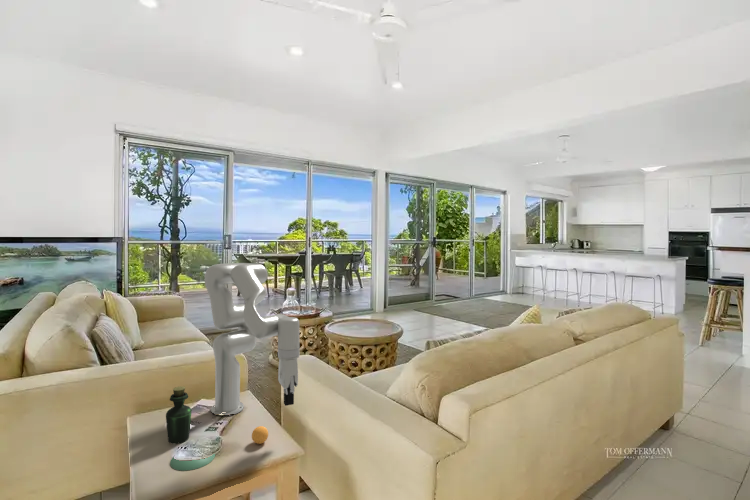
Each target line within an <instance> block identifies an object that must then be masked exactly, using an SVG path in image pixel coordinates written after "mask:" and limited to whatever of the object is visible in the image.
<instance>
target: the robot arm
mask: <svg viewBox="0 0 750 500" xmlns="http://www.w3.org/2000/svg"><path fill="white" fill-rule="evenodd" d="M267 279H268V271H267V268H266V267H265V266H264V265H263V264H262V263H253V262H252V263H251V262H233V263H232V262H231V263H227V262H226V263H225V262H224V263H218V264H217V263H216V264H213V265H211V266H209V267H208V268H207V269H206V270H205V273H204V285H205V288H206V291H207V294H208V295H209V300H210V307H211V308H210V309H211V315H212V321H213V326H214V327H215V329H216V330H218V331H225V330H231V329H235V328H236V329H237V330H235V331H234V330H233V331H229V332H225V333H221V334H219V335H217V336H216V337H215V338H214V339H213V342H212V350H213V355H214V364H215V365H214V370H215V371H214V374H215V376H214V377H215V381H214V382H215V383H214V387H215V388H214V389H215V390H214V391H215V392H214V396H215V398H214V405H213V406H211V407H210V413H211V412H212V413H214V414H221V413H222V412H226V413H222V414H225V415H228V414H234V415H236V414H239V413H240V412H242V411H243V410H244V407H245V405H244V403H243V402H241V399H240V398H241V364H240V362H239V361H238V360H237V357H236V356H237V355H241V354H244V353H248V352H251V351H252V350H254V349H255V347H256V344H257V339H260V340H263V339H268V338H271V337H277V358H278V371H277V372H278V375H277V377H278V378H277V381H278V382H279V384H280V385H281V387H282V388H283V404H284V406H292V405H294V403H295V400H294V399H295V388H296V387H297V386H298V385H299V366H298V358H300V320H299V319H298V317H293V316H288V315H286V314H283V313H282V314H281V313H278V314H274V315H266V316H261V315H260V314H259V312H258V311H257V308H256V306H257V305H258V304H260V303H261V302H263V300H264V299H265V298H266V296H267V290H266V288H265V286H263V283H265V282H266V281H267ZM229 284H234V285H235V287H236V289H237V290H238V292H239V294H240V295H241V297H242V298H243V300H244V302H245V304H244V303H243V304H242V303H240V304H234V300H233V295H232V292H231V291H230V289H229V288H228V287H227V286H225V285H229ZM214 406H215V407H214ZM212 413H211V414H212Z"/></svg>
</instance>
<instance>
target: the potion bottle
mask: <svg viewBox="0 0 750 500" xmlns="http://www.w3.org/2000/svg"><path fill="white" fill-rule="evenodd" d="M172 390H173V394H171V395H170V397H169V401H170V402H173V407H170V408H169V409H168V410H167V412H165V413H166V414H165V420H166V422H165V423H166V433H167V441H168V442H169V444H172V445H179V444H182V443H185V442H186V441H188V440H189V438H190V431H191V430H190V422H191V423H192V411H193V410H192V408H191V407H190V406H188V405H185V402H186V401H185V400H187V399H189V393H187V392H185V390H186V387H185V386H184V385H183V386H177V387H173V388H172Z"/></svg>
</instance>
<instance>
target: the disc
mask: <svg viewBox="0 0 750 500" xmlns="http://www.w3.org/2000/svg"><path fill="white" fill-rule="evenodd" d="M215 456H216V453H215V454H213V455H212V456H210V457H208V458H205V459H200V460H192V461H179V460H176V459H174V456H173V457H172V458H171V459H170V461H169V462H170V463H169V464H170V467H171V468H172V469H174V470H176V471H183V472H184V471H186V472H187V471H193V470H197V469H200V468H203V467H205V466H207V465H208V464H210V463H211V462H212V461H213V460H214V459H215Z"/></svg>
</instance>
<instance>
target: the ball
mask: <svg viewBox="0 0 750 500" xmlns="http://www.w3.org/2000/svg"><path fill="white" fill-rule="evenodd" d="M268 437H269V431H268V428H267V427H265V426H262V425H261V426H256V427H255V428H254V429H253V430H252V432H251V440H252V441H253V443H255V444H257V445H261V444H264V443H265V442H266V441H267V440H268Z"/></svg>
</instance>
